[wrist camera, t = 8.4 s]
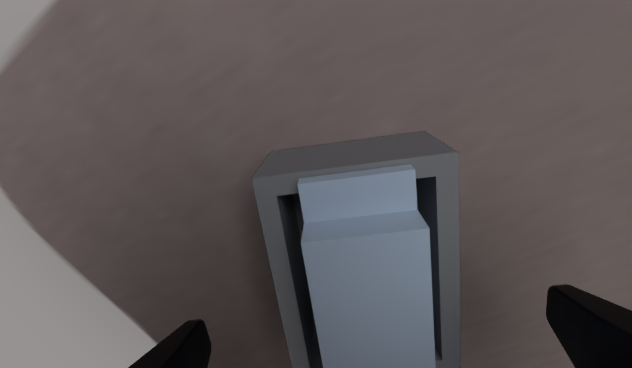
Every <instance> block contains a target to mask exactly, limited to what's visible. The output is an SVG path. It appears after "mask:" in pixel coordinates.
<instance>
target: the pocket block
mask: <svg viewBox="0 0 632 368" xmlns="http://www.w3.org/2000/svg"><path fill="white" fill-rule="evenodd" d="M408 164H411V165H412V166H413V167H414V168H415V173H416V191H417V209H418V211H419V213H420V214H421V216H422V217H423V219H424V221H425V222H426V224H427V225H428V227H429V229H430V252H431V274H432V297H433V320H434V342H435V365H436V368H461V324H460V238H459V152H458V151H456V150H455V149H453V148H452V147H450V146H448V145H447V144H445V143H444V142H442V141H440V140H439V139H437V138H435V137H434V136H432V135H431V134H429V133H427V132H426V131H420V132H412V133H405V134H397V135H390V136H383V137H375V138H368V139H360V140H353V141H345V142H338V143H331V144H323V145H316V146H308V147H301V148H293V149H286V150H279V151H271V152H270V154H269V155H268V156H267V158H266V159H265V160H264V162H263V163H262V165H261V166H260V167H259V169H258V170H257V171H256V173H255V174H254V175H253V177H252V178H251V179H252V184H253V189H254V193H255V198H256V202H257V207H258V212H259V216H260V221H261V226H262V230H263V235H264V240H265V244H266V249H267V254H268V258H269V263H270V268H271V272H272V277H273V282H274V286H275V291H276V296H277V300H278V305H279V310H280V314H281V319H282V324H283V328H284V333H285V338H286V342H287V347H288V352H289V356H290V361H291V365H292V368H323V364H322V359H321V353H320V347H319V342H318V336H317V331H316V325H315V320H314V314H313V308H312V303H311V297H310V292H309V286H308V281H307V275H306V269H305V264H304V258H303V253H302V247H301V238H302V232H303V226H304V220H303V214H302V208H301V202H300V196H299V191H298V185H297V184H298V181H299V178H307V177H315V176H322V175H330V174H338V173H346V172H354V171H361V170H369V169H377V168H385V167H392V166H400V165H408Z"/></svg>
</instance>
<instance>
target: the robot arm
mask: <svg viewBox="0 0 632 368" xmlns="http://www.w3.org/2000/svg"><path fill="white" fill-rule="evenodd" d="M546 317H547V320H548V322H549V324H550V326H551V328H552V329H553V331H554V333H555V334H556V336H557V338H558V339H559V341H560V343H561V345H562V346H563V348H564V350H565V351H566V353H567V355H568V356H569V358H570V360H571V361H572V363H573V365H574V367H575V368H632V311H631V310H629V309H626V308H624V307H621V306H619V305H616V304H614V303H612V302H609V301H607V300H604V299H602V298H600V297H597V296H595V295H592V294H590V293H588V292H585V291H583V290H580V289H578V288H575V287H573V286H571V285H555V286H551V287H549V289H548V294H547V306H546ZM210 354H211V342H210V338H209V335H208V332H207V328H206V325H205V323H204V321H203V320H201V319H199V320H189V321H187V322H185V323H184V324H183V325H181V326H180V327H179V328H178V329H176V330H175V331H174V332H173V333H171V334H170V335H169V336H168V337H166V338H165V339H164V340H162V341H161V342H160V343H159V344H157V345H156V346H155V347H154V348H152V349H151V350H150V351H149V352H148V353H146V354H145V355H144V356H142V357H141V358H140V359H139V360H137V361H136V362H135V363H134V364H132V365H131V366H130V367H129V368H207V367H208V363H209V359H210Z"/></svg>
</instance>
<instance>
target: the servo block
mask: <svg viewBox="0 0 632 368" xmlns="http://www.w3.org/2000/svg"><path fill="white" fill-rule="evenodd" d="M297 185H298V191H299V196H300V202H301V208H302V214H303V220H304V226H303V232H302V238H301V247H302V253H303V258H304V264H305V269H306V275H307V281H308V286H309V292H310V297H311V303H312V308H313V314H314V320H315V325H316V331H317V336H318V342H319V347H320V353H321V359H322V364H323V368H436V365H435V342H434V320H433V297H432V274H431V252H430V229H429V227H428V225H427V224H426V222H425V221H424V219H423V217H422V216H421V214H420V213H419V211H418V209H417V191H416V173H415V168H414V167H413V166H412V165H411V164H408V165H400V166H392V167H385V168H377V169H369V170H361V171H354V172H346V173H338V174H330V175H322V176H315V177H307V178H299V181H298V184H297Z"/></svg>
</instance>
